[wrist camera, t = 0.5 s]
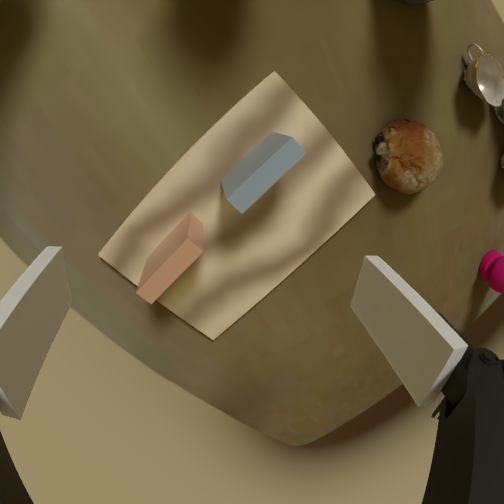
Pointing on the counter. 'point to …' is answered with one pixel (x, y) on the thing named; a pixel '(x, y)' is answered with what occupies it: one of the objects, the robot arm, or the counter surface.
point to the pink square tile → (171, 258)
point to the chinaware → (487, 81)
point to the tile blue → (261, 170)
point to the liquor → (416, 1)
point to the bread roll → (408, 156)
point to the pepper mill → (493, 270)
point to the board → (252, 220)
